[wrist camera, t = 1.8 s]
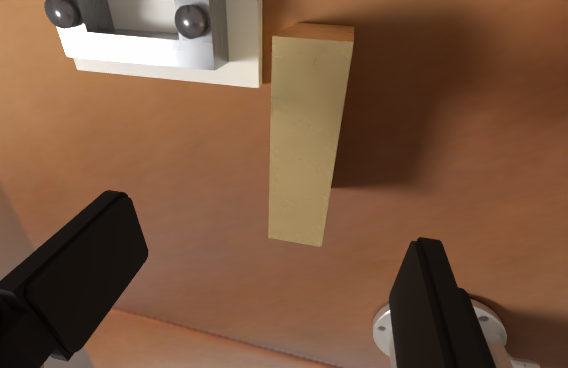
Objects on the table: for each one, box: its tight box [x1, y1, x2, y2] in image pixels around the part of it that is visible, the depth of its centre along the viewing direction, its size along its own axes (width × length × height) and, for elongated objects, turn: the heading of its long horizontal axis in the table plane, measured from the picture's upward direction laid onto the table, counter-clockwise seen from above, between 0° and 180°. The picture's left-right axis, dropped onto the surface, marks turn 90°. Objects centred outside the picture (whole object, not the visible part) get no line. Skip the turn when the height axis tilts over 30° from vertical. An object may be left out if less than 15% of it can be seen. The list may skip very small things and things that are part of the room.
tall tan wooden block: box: [268, 22, 354, 247], centre depth 19 cm, size 4×12×7 cm, turn 178°
